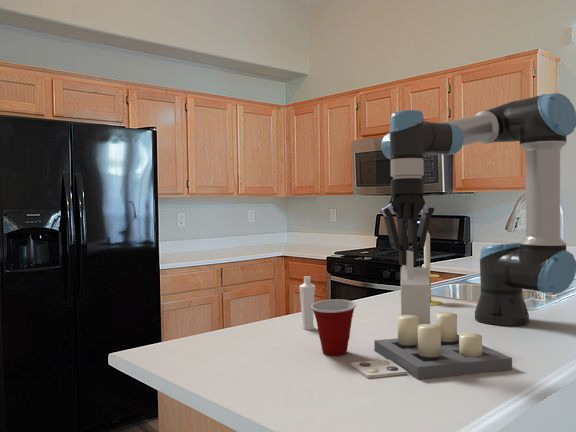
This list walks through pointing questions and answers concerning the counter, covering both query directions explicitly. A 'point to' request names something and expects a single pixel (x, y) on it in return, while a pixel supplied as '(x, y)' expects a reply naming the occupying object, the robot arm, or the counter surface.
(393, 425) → the counter surface
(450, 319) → the cream rounded cylinder
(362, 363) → the card
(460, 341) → the cream rounded cylinder
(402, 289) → the milk carton
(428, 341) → the cream domed cylinder
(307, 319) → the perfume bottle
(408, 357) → the board
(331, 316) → the plastic cup
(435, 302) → the candle
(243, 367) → the counter surface
